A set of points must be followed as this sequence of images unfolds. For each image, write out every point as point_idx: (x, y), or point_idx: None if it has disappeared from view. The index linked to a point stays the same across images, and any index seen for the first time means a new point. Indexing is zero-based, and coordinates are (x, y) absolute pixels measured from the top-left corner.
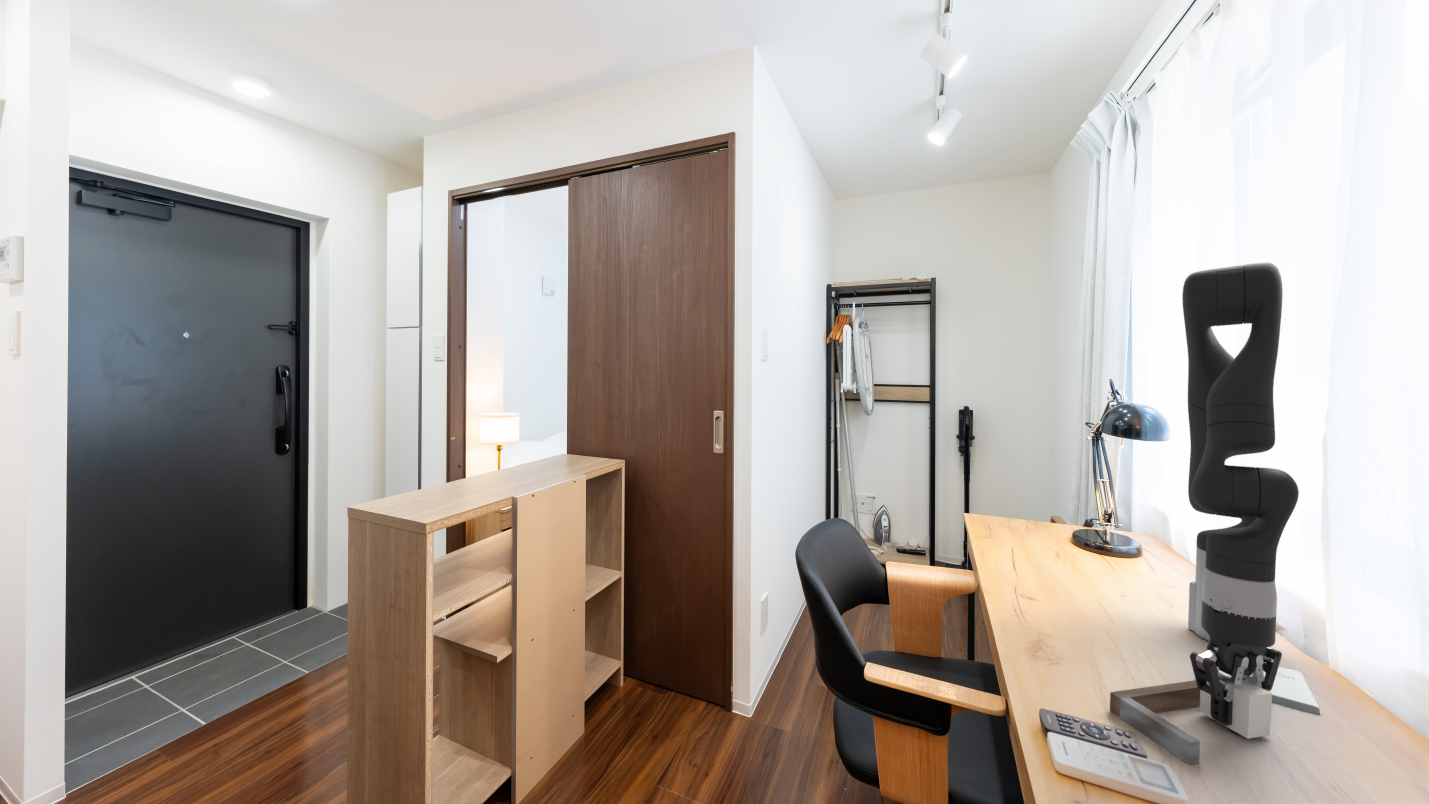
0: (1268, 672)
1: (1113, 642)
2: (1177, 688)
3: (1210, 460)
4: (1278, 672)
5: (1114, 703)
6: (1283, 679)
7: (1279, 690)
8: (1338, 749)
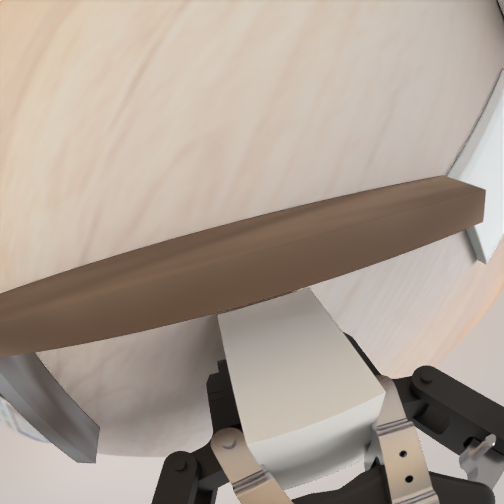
0: (439, 438)
1: None
2: (165, 316)
3: None
4: None
5: None
6: None
7: (492, 208)
8: (397, 359)
